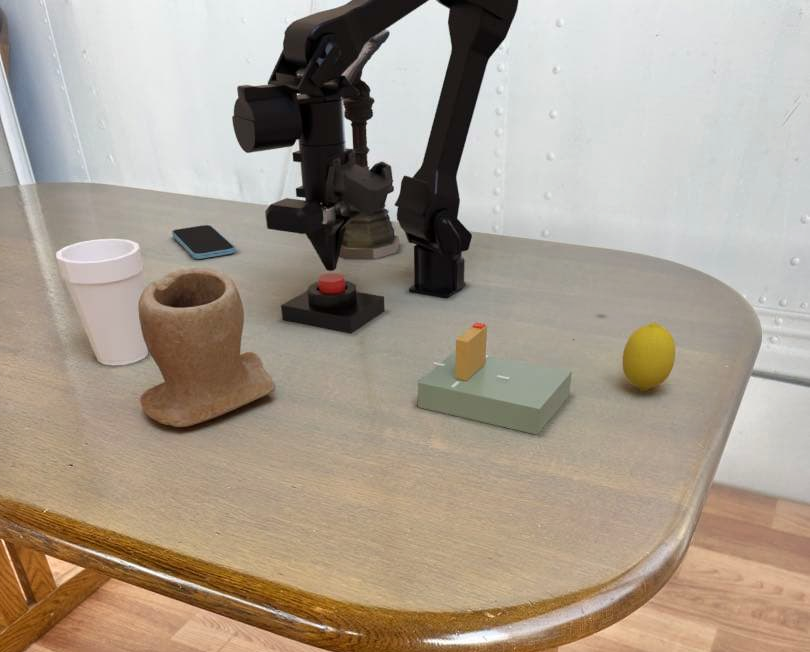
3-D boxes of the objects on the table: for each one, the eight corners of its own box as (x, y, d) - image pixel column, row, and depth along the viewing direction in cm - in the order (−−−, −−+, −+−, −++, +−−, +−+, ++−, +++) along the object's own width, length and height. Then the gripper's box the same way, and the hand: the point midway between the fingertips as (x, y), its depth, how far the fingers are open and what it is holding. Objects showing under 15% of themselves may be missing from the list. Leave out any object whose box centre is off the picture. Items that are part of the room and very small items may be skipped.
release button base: (282, 320, 111) (279, 291, 108) (318, 299, 117) (316, 272, 115) (351, 334, 107) (349, 304, 104) (384, 311, 113) (383, 283, 111)
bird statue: (341, 273, 127) (324, 5, 106) (293, 254, 135) (268, 2, 114) (419, 250, 135) (418, -2, 114) (370, 234, 143) (360, -4, 122)
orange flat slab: (466, 381, 88) (467, 339, 85) (454, 378, 88) (455, 337, 85) (485, 364, 91) (487, 323, 88) (474, 361, 92) (475, 321, 89)
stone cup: (182, 450, 83) (152, 307, 74) (130, 410, 90) (98, 275, 81) (304, 404, 91) (290, 269, 82) (247, 370, 98) (229, 244, 89)
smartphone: (194, 254, 132) (170, 230, 143) (195, 261, 133) (171, 236, 143) (236, 247, 135) (209, 224, 145) (237, 254, 135) (210, 230, 146)
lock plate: (413, 406, 90) (412, 379, 88) (452, 371, 97) (452, 346, 95) (537, 435, 84) (539, 407, 82) (569, 396, 91) (572, 370, 89)
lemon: (611, 381, 94) (621, 314, 89) (658, 379, 94) (670, 312, 90) (626, 403, 90) (637, 333, 85) (675, 400, 90) (689, 331, 85)
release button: (313, 292, 109) (312, 279, 108) (328, 284, 112) (327, 271, 111) (336, 296, 108) (335, 283, 107) (350, 288, 110) (349, 275, 109)
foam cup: (175, 345, 105) (155, 242, 97) (133, 374, 98) (108, 266, 90) (113, 337, 107) (88, 236, 99) (68, 365, 100) (38, 258, 92)
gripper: (337, 163, 89) (345, 301, 98) (416, 133, 102) (417, 258, 112) (255, 154, 94) (271, 288, 103) (341, 127, 107) (348, 247, 116)
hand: (331, 269), depth 108 cm, fingers closed
